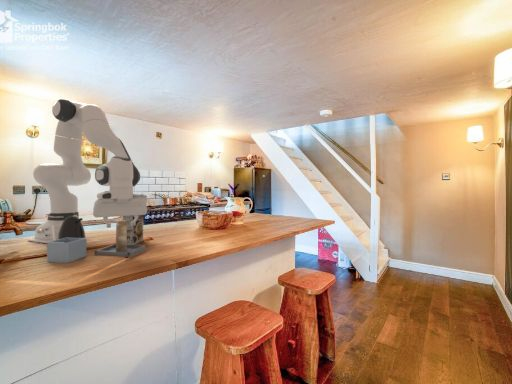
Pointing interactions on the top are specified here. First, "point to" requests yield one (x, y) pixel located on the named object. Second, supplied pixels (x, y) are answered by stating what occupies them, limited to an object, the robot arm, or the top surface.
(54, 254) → the slate blue storage bin
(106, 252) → the tray
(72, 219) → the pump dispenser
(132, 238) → the coffee box
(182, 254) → the top surface
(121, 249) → the dowel
